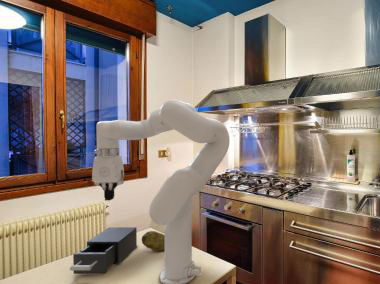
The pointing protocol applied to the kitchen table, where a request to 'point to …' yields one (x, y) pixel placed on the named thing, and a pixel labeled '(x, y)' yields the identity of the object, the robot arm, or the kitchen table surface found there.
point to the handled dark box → (94, 259)
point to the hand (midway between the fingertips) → (109, 199)
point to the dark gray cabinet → (118, 240)
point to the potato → (153, 240)
